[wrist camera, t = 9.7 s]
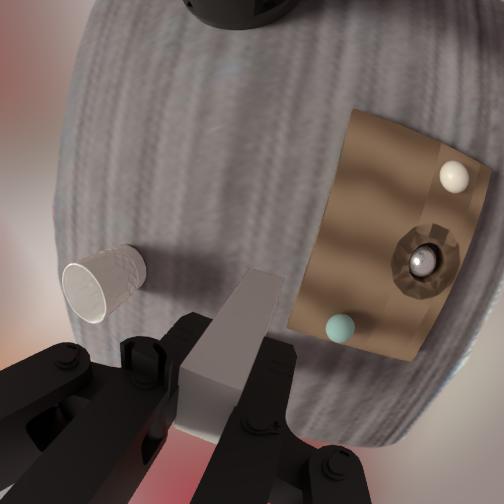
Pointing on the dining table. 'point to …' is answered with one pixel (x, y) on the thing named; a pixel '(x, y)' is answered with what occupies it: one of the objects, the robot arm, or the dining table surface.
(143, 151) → the dining table surface
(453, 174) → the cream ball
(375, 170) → the board
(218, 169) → the dining table surface
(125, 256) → the white cup
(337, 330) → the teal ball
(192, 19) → the dining table surface
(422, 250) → the steel ball
